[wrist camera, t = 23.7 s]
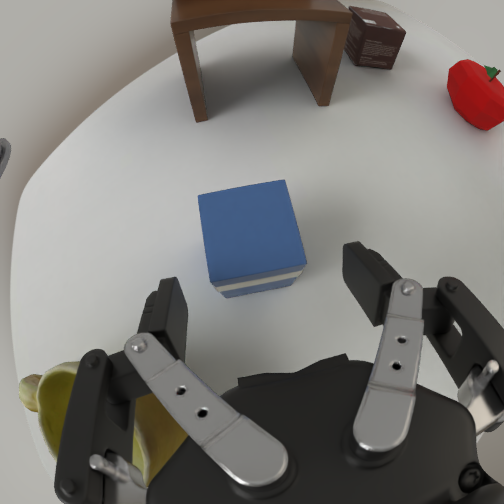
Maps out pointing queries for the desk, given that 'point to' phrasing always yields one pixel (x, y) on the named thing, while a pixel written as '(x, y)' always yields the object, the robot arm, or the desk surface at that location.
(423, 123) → the desk surface
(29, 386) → the mug
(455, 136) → the desk surface
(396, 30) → the box
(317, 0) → the chair
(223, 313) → the desk surface
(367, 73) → the desk surface
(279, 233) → the carton
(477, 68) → the apple
